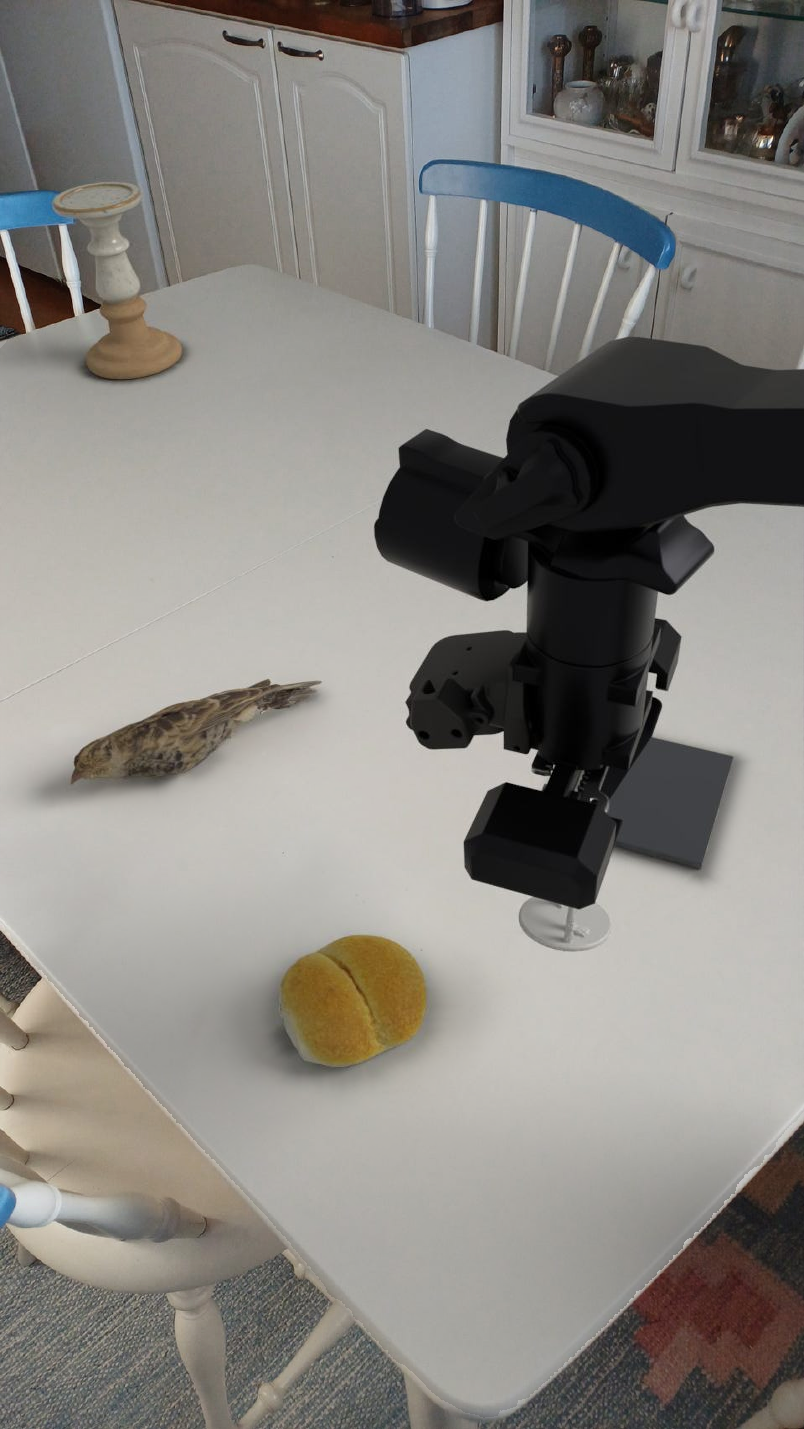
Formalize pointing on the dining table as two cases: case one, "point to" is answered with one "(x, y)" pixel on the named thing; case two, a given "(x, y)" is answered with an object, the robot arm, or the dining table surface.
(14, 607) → the dining table surface
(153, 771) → the bird model
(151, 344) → the candle holder
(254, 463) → the dining table surface
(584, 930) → the figurine
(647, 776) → the slate tile
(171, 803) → the dining table surface
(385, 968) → the bread roll
